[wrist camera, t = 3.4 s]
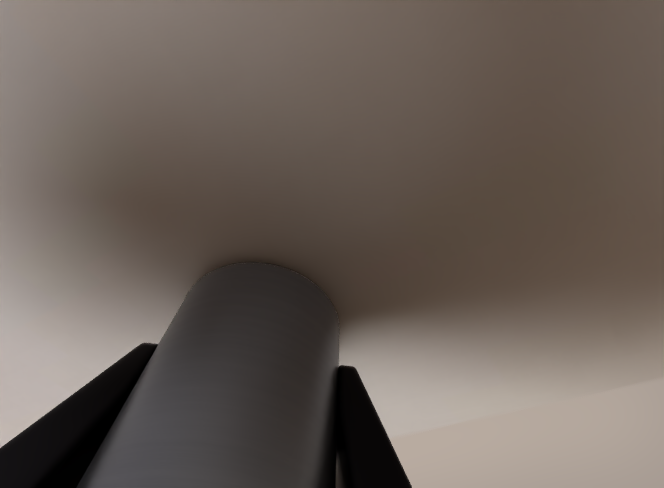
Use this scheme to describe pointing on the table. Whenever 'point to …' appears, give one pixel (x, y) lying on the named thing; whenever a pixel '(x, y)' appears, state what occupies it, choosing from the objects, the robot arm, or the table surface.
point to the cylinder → (233, 391)
